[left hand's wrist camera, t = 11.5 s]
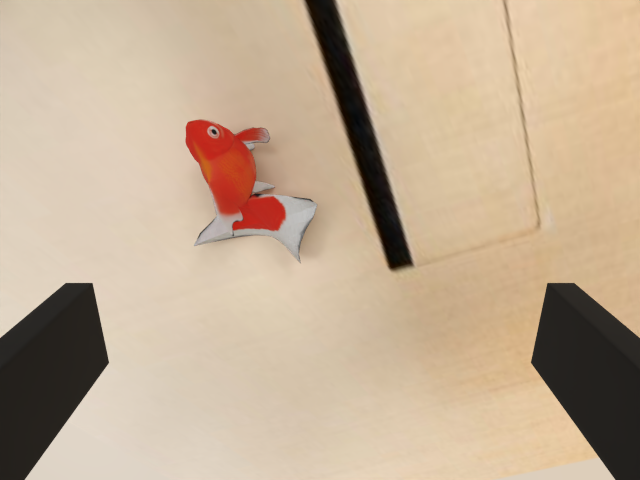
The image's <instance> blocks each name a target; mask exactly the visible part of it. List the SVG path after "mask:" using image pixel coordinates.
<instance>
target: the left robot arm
mask: <svg viewBox="0 0 640 480" xmlns="http://www.w3.org/2000/svg"><path fill="white" fill-rule="evenodd" d="M108 363H109V361H108V356H107V351H106V346H105V341H104V336H103V332H102V327H101V322H100V317H99V312H98V308H97V303H96V298H95V293H94V288H93V283H65V284H64V285H63V286H62V287H61V288H59V289H58V290H57V291H56V292H55V293H54V294H52V295H51V296H50V297H49V298H48V299H46V300H45V301H44V302H43V303H42V304H40V305H39V306H38V307H37V308H36V309H34V310H33V311H32V312H31V313H30V314H28V315H27V316H26V317H25V318H24V319H22V320H21V321H20V322H19V323H18V324H17V325H15V326H14V327H13V328H12V329H11V330H9V331H8V332H7V333H6V334H5V335H3V336H2V337H1V338H0V480H25V478H26V477H27V476H28V474H29V473H30V471H31V470H32V469H33V467H34V466H35V465H36V463H37V462H38V460H39V459H40V458H41V456H42V455H43V453H44V452H45V451H46V449H47V448H48V447H49V445H50V444H51V442H52V441H53V440H54V438H55V437H56V435H57V434H58V433H59V431H60V430H61V428H62V427H63V426H64V424H65V423H66V422H67V420H68V419H69V417H70V416H71V415H72V413H73V412H74V410H75V409H76V408H77V406H78V405H79V404H80V402H81V401H82V399H83V398H84V397H85V395H86V394H87V392H88V391H89V390H90V388H91V387H92V386H93V384H94V383H95V381H96V380H97V379H98V377H99V376H100V374H101V373H102V372H103V370H104V369H105V368H106V366H107V365H108ZM531 363H532V365H533V366H534V368H535V369H536V370H537V372H538V373H539V374H540V376H541V377H542V379H543V380H544V381H545V383H546V384H547V386H548V387H549V388H550V390H551V391H552V392H553V394H554V395H555V397H556V398H557V399H558V401H559V402H560V404H561V405H562V406H563V408H564V409H565V410H566V412H567V413H568V415H569V416H570V417H571V419H572V420H573V422H574V423H575V424H576V426H577V427H578V428H579V430H580V431H581V433H582V434H583V435H584V437H585V438H586V440H587V441H588V442H589V444H590V445H591V447H592V448H593V449H594V451H595V452H596V453H597V455H598V456H599V458H600V459H601V460H602V462H603V463H604V464H605V466H606V467H607V469H608V470H609V471H610V473H611V474H612V476H613V477H614V478H615V480H640V338H639V337H638V336H637V335H635V334H634V333H633V332H632V331H631V330H629V329H628V328H627V327H626V326H625V325H623V324H622V323H621V322H620V321H619V320H618V319H616V318H615V317H614V316H613V315H612V314H610V313H609V312H608V311H607V310H606V309H604V308H603V307H602V306H601V305H600V304H598V303H597V302H596V301H595V300H594V299H592V298H591V297H590V296H589V295H588V294H586V293H585V292H584V291H583V290H582V289H581V288H579V287H578V286H577V285H576V284H575V283H547V288H546V293H545V298H544V303H543V308H542V312H541V317H540V322H539V327H538V332H537V336H536V341H535V346H534V351H533V356H532V361H531Z"/></svg>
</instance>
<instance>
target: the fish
mask: <svg viewBox="0 0 640 480" xmlns="http://www.w3.org/2000/svg"><path fill="white" fill-rule="evenodd" d="M269 139H270V136H269V133H268V131H267V130H266V129H265V128H250V129H246V130H243V131H241V132H239V133H237V134H235V135H234V134H233V133H232V132H231V131H230V130H228V129H226V128H224V127H223V126H221V125H219V124H216V123H214V122H212V121H208V120H194V121H190V122H188V123H187V125H186V145H187V147H188V148H189V150H190V152H191V154H192V156H193V157H194V159H195V160H196V161H197V162H198V163H199V165H200V167H201V171H202V174H203V176H204V178H205V180H206V182H207V183H208V185H209V188H210V191H211V195H212V198H213V202H214V206H215V210H216V214H217V216H216V218H215V219H214V220H213V221H212V222H211V223H210V224H209V225H208V226H207V227H206V228H205V229H204V230H203V231H202V232H201V233H200V235H199V237H198V239H197V241H196V243H195V244H194V246H196V245H201V244H206V243H210V242H215V241H220V240H225V239H230V238H235V237H242V236H251V235H267V236H272V237H273V238H275V239H277V240H279V241H280V242H281V243H282V244H284V246H285V247H286V248H287V249H288V250H289V251H290V252H291V254H292V255H293V256H294V257H295V258H296V259H297V260H298V261H299V262H300V257H299V249H300V244H301V240H302V238H303V235H304V233H305V230H306V228H307V227H308V225H309V223H310V222H311V220H312V219H313V216H314V213H315V210H316V207H317V204H316V203H315V202H313V201H312V200H311V199H305V198H296V197H289V196H282V195H269V194H253V195H251V193H252V192H253V193H256V192H260V191H263V190H267V189H271V188H274V187H275V186H274V185H271V184H268V183H264V182H260V181H256V167H255V161H254V157H253V155H252V153H251V151H250V150H252V149H254V147H255V146H254V144H253V143H255V142H262V143H267V142H268V141H269ZM300 263H301V262H300Z"/></svg>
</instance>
